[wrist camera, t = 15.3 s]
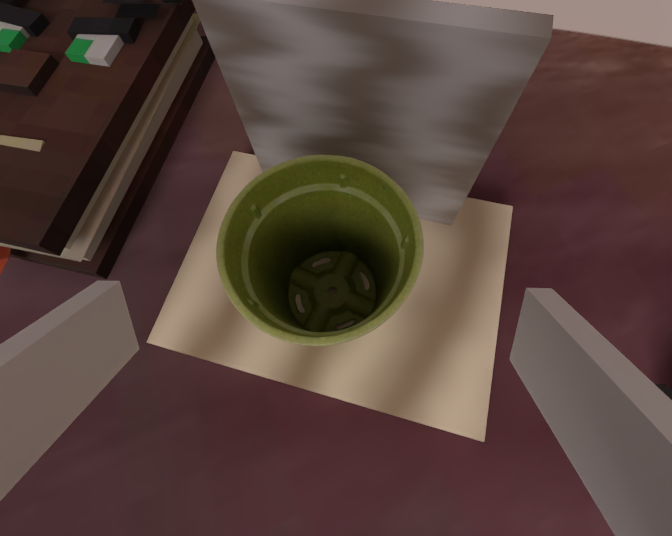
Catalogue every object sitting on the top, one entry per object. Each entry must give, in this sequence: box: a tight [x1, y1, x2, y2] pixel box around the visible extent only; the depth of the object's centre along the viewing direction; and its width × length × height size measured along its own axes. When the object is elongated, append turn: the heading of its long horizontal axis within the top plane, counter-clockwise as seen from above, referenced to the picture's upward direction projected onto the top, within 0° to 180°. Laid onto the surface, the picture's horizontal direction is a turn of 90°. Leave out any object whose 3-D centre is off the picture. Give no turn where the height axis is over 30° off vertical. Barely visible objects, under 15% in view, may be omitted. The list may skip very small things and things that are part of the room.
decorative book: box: [0, 0, 215, 279], centre depth 30 cm, size 19×8×30 cm
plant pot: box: [216, 155, 424, 346], centre depth 20 cm, size 9×9×9 cm
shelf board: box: [147, 0, 553, 442], centre depth 19 cm, size 22×16×16 cm
